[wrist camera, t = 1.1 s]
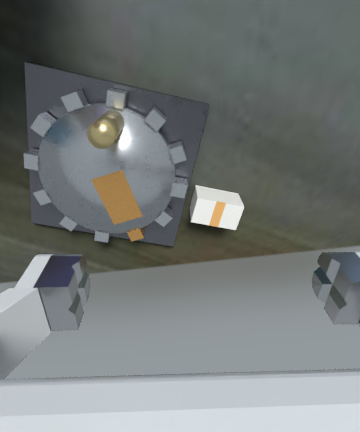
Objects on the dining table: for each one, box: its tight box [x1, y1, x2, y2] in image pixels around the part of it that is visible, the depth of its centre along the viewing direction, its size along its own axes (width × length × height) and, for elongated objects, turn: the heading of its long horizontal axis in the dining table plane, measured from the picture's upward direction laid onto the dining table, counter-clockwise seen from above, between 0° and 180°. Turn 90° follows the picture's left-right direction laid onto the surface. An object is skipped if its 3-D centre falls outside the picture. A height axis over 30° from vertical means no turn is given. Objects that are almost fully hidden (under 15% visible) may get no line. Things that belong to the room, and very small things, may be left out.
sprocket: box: [24, 88, 188, 243], centre depth 32 cm, size 19×19×8 cm
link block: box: [190, 185, 244, 230], centre depth 38 cm, size 6×4×4 cm, turn 78°
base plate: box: [24, 62, 209, 247], centre depth 36 cm, size 20×20×1 cm
